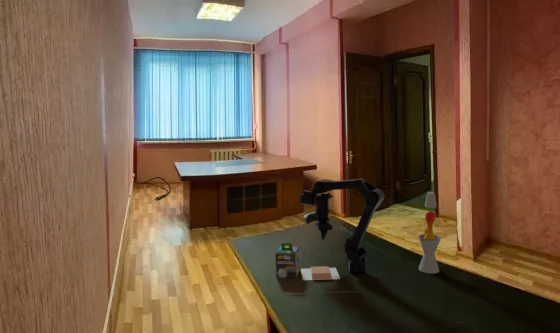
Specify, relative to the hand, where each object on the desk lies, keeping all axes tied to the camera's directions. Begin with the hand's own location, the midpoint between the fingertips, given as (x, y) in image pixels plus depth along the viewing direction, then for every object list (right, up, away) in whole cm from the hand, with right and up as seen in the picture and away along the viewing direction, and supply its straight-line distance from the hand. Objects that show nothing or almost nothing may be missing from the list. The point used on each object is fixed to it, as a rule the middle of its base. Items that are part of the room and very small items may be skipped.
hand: (322, 239), depth 176 cm
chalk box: (-16, -14, -9) cm, 23 cm away
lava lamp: (+47, -12, -7) cm, 49 cm away
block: (-3, -12, -8) cm, 15 cm away
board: (-2, -14, -10) cm, 17 cm away
